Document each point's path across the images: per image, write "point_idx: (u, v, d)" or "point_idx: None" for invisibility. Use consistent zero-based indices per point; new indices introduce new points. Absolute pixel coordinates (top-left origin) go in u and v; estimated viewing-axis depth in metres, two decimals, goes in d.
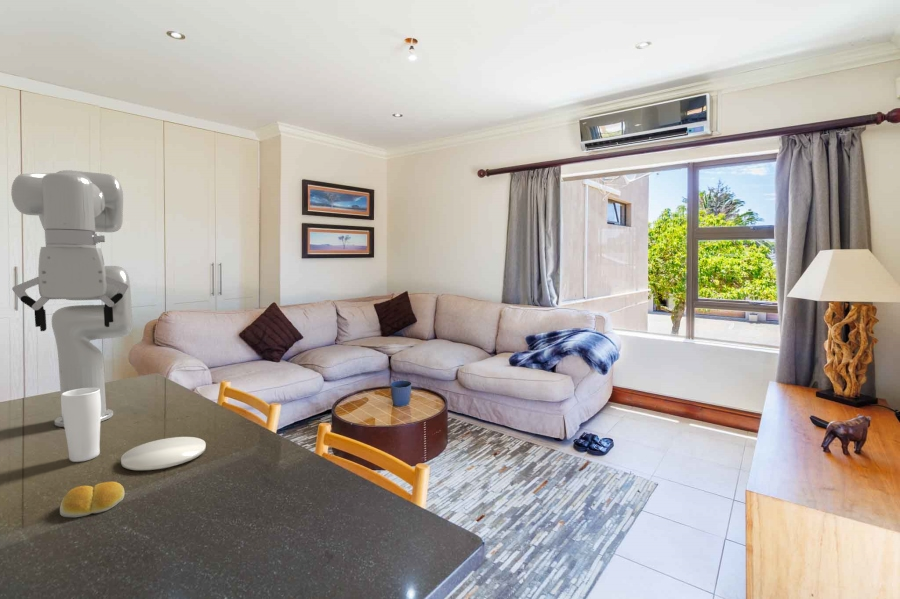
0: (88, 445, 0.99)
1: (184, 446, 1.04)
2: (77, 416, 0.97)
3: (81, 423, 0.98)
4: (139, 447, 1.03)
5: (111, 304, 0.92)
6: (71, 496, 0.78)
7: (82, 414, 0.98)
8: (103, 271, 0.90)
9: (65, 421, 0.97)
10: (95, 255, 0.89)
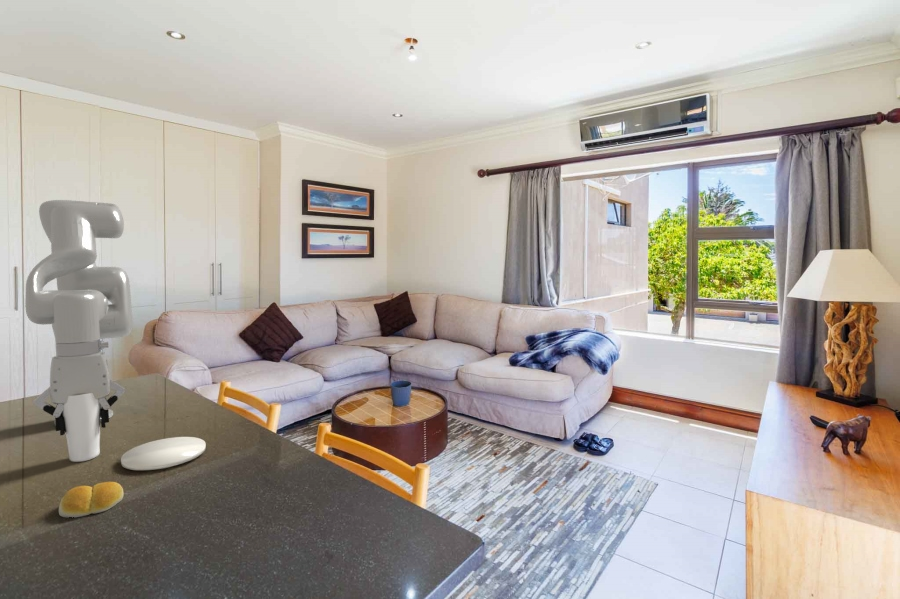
0: (88, 445, 0.99)
1: (184, 446, 1.04)
2: (77, 416, 0.97)
3: (81, 423, 0.98)
4: (139, 447, 1.03)
5: (107, 407, 1.02)
6: (70, 497, 0.78)
7: (82, 414, 0.98)
8: (107, 374, 1.01)
9: (65, 421, 0.97)
10: (100, 361, 1.00)
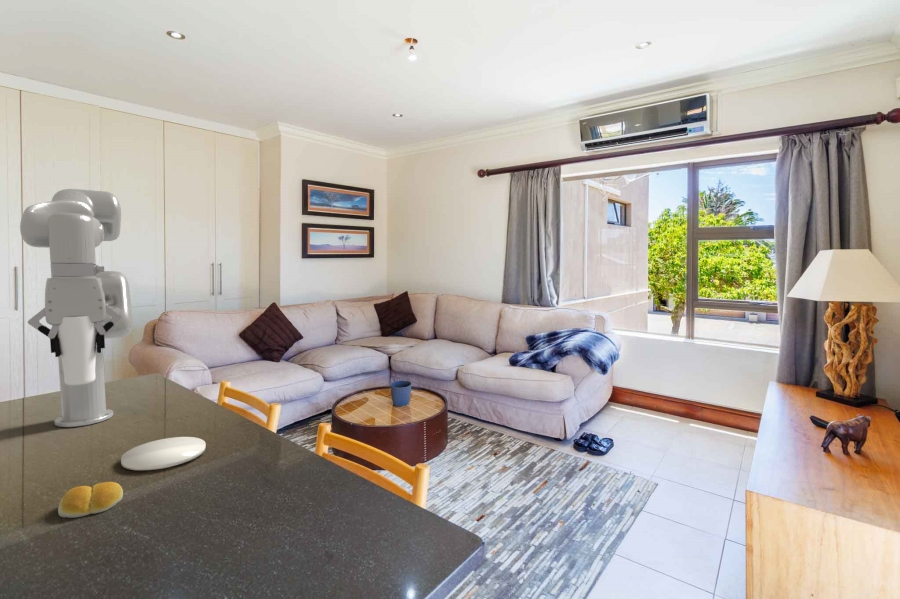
0: (83, 369, 0.98)
1: (184, 446, 1.04)
2: (72, 338, 0.96)
3: (76, 346, 0.97)
4: (139, 447, 1.03)
5: (103, 332, 1.01)
6: (70, 497, 0.78)
7: (77, 336, 0.97)
8: (103, 299, 1.00)
9: (60, 343, 0.96)
10: (96, 285, 0.99)
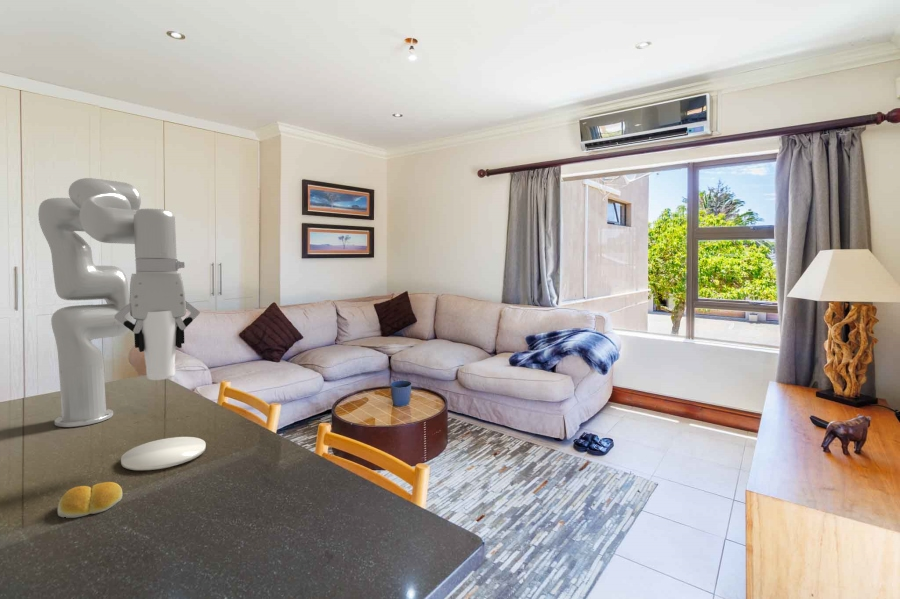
0: (166, 363, 0.99)
1: (184, 446, 1.04)
2: (156, 333, 0.97)
3: (160, 340, 0.97)
4: (139, 447, 1.03)
5: (183, 327, 1.01)
6: (69, 497, 0.78)
7: (161, 331, 0.97)
8: (184, 294, 1.01)
9: (144, 338, 0.97)
10: (178, 280, 1.00)
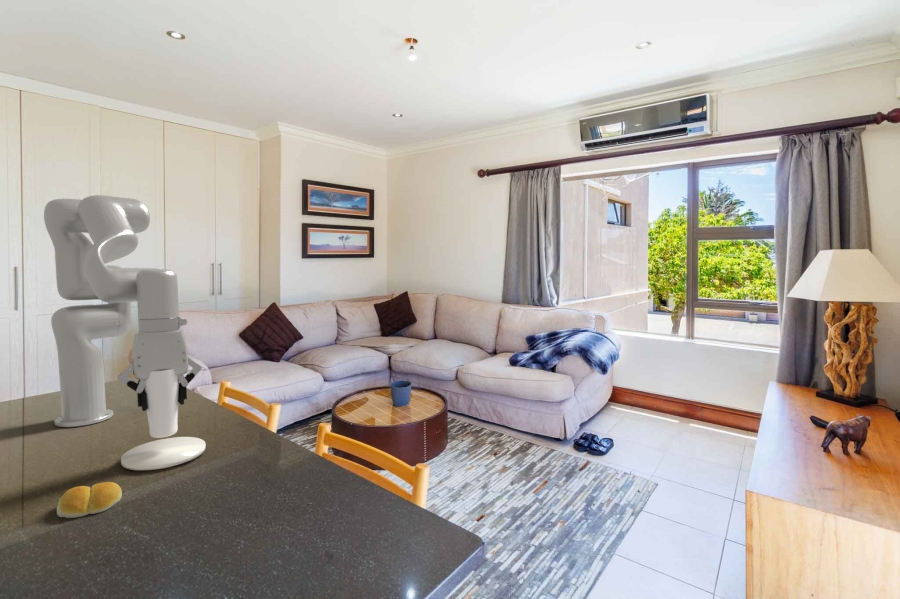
0: (168, 421, 1.00)
1: (184, 446, 1.04)
2: (159, 392, 0.98)
3: (163, 399, 0.98)
4: (139, 447, 1.03)
5: (185, 384, 1.02)
6: (68, 497, 0.78)
7: (164, 390, 0.98)
8: (186, 351, 1.02)
9: (147, 397, 0.98)
10: (180, 338, 1.01)
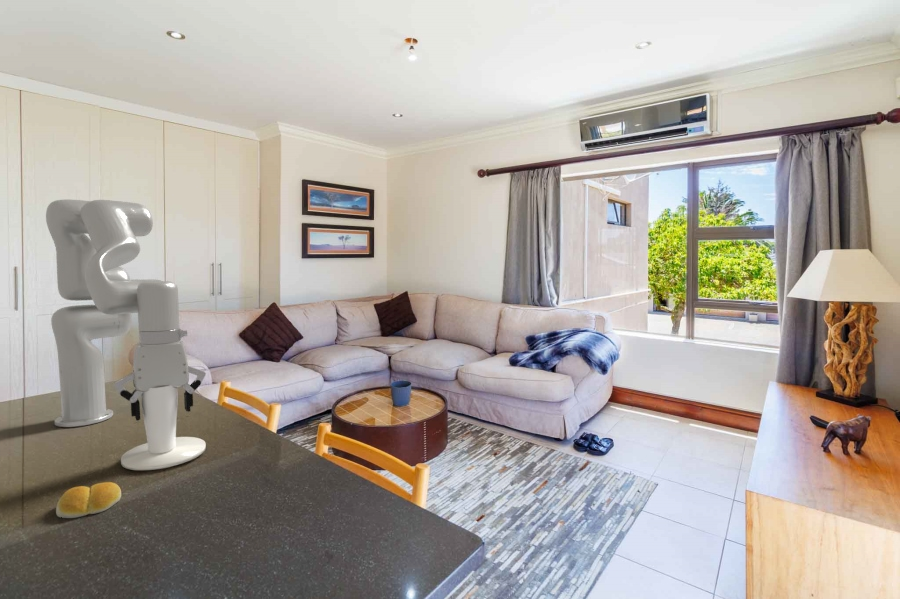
0: (167, 437, 1.00)
1: (184, 446, 1.04)
2: (158, 408, 0.98)
3: (161, 415, 0.99)
4: (139, 447, 1.03)
5: (192, 391, 1.03)
6: (68, 497, 0.78)
7: (162, 406, 0.98)
8: (186, 363, 1.02)
9: (145, 413, 0.98)
10: (180, 350, 1.01)
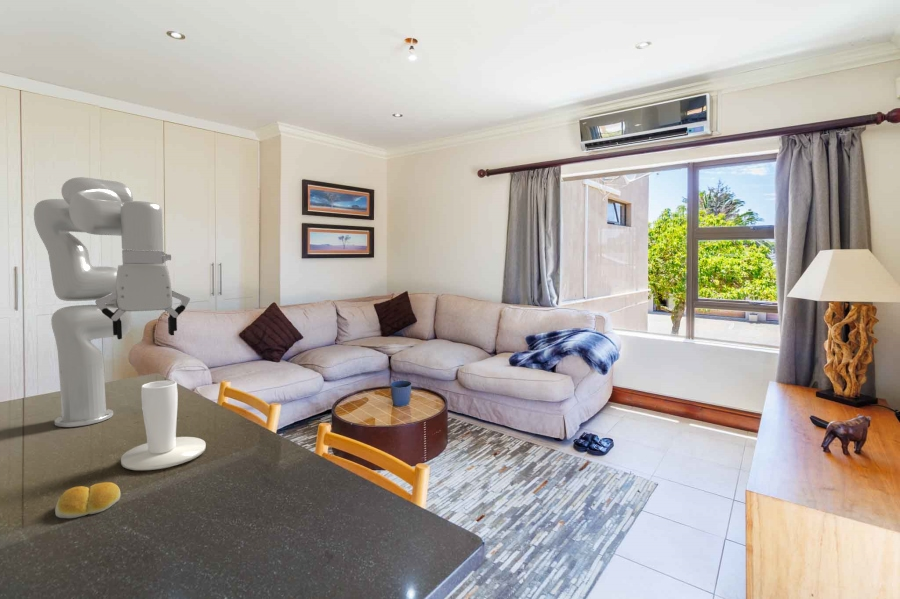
0: (167, 437, 1.00)
1: (184, 446, 1.04)
2: (158, 408, 0.98)
3: (161, 415, 0.99)
4: (139, 447, 1.03)
5: (175, 315, 1.04)
6: (67, 497, 0.78)
7: (162, 406, 0.98)
8: (170, 286, 1.02)
9: (146, 413, 0.98)
10: (164, 272, 1.01)
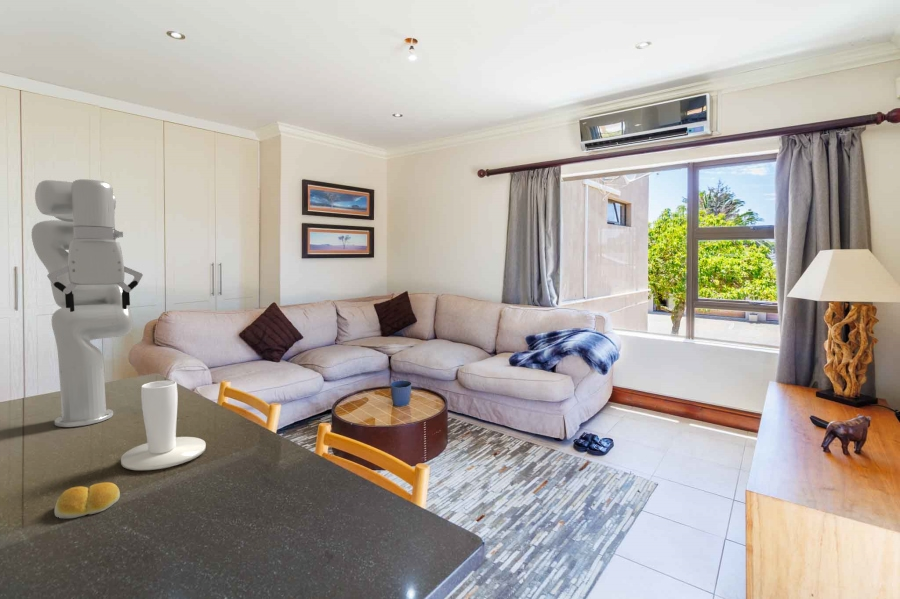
0: (167, 437, 1.00)
1: (184, 446, 1.04)
2: (158, 408, 0.98)
3: (161, 415, 0.99)
4: (139, 447, 1.03)
5: (128, 290, 1.08)
6: (66, 497, 0.78)
7: (162, 406, 0.98)
8: (122, 262, 1.06)
9: (146, 413, 0.98)
10: (115, 248, 1.05)
